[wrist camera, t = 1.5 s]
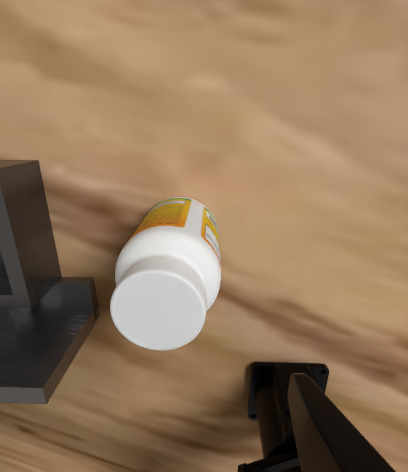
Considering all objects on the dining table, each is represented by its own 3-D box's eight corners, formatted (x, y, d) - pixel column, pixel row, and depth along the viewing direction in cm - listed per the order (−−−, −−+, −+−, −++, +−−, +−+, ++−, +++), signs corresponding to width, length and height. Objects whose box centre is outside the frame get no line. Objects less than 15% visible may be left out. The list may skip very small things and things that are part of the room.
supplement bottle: (132, 244, 21) (72, 333, 12) (164, 181, 20) (122, 229, 11) (196, 276, 22) (185, 381, 13) (232, 218, 20) (248, 293, 11)
